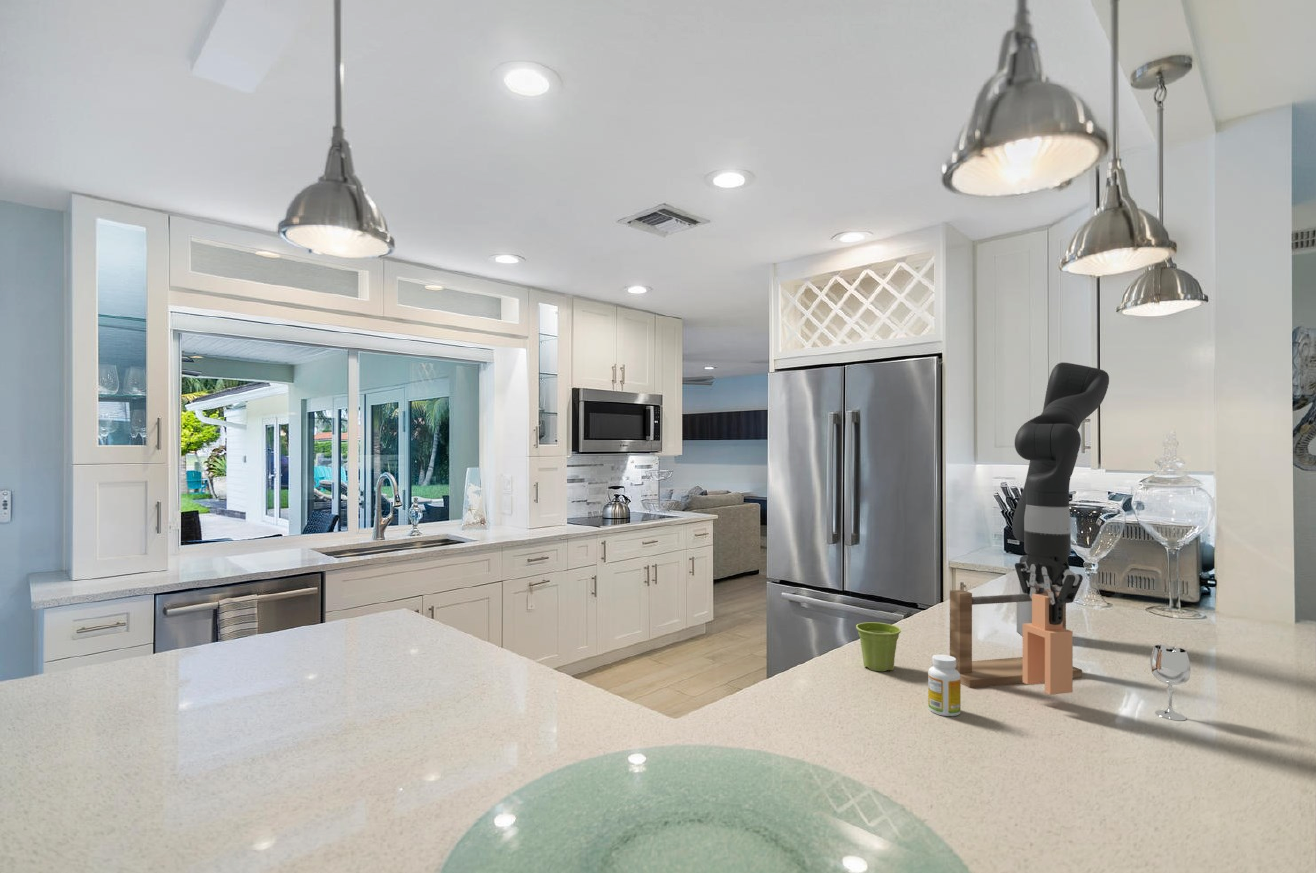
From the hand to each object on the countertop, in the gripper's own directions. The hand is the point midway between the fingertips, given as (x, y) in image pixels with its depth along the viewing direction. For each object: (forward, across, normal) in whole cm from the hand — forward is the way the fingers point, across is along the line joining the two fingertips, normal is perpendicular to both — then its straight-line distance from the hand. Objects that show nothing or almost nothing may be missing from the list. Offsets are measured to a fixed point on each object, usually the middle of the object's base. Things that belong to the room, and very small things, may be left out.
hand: (1047, 621), depth 123 cm
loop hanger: (+12, 0, 0) cm, 12 cm away
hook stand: (+16, +16, -6) cm, 23 cm away
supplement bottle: (+16, +2, +21) cm, 26 cm away
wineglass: (+16, -9, -18) cm, 26 cm away
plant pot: (+16, +26, +19) cm, 36 cm away
